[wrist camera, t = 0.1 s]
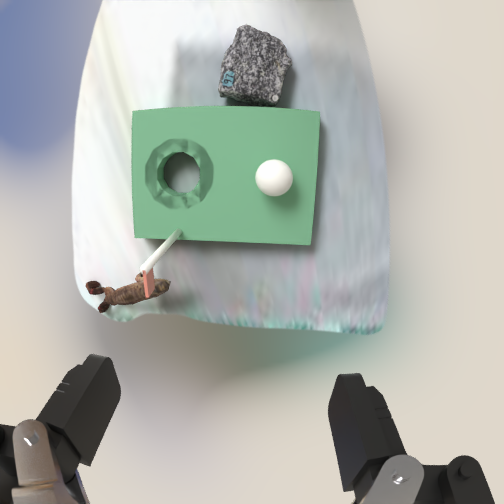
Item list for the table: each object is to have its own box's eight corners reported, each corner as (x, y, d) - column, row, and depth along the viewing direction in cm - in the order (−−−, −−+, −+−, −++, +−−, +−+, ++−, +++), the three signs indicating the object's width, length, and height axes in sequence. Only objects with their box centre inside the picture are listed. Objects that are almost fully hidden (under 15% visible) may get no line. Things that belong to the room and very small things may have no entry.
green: (140, 113, 32) (132, 111, 30) (315, 114, 32) (320, 111, 30) (141, 232, 38) (134, 238, 35) (307, 239, 37) (310, 245, 35)
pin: (175, 228, 35) (139, 265, 23) (181, 228, 35) (147, 266, 23) (176, 251, 36) (143, 297, 24) (182, 252, 36) (151, 297, 24)
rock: (298, 45, 29) (303, 33, 25) (274, 114, 33) (276, 109, 29) (240, 29, 29) (238, 16, 25) (214, 97, 32) (209, 90, 28)
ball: (256, 158, 32) (256, 158, 28) (291, 160, 32) (296, 161, 28) (254, 192, 33) (254, 198, 29) (289, 194, 33) (293, 200, 29)
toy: (139, 287, 47) (187, 297, 36) (98, 314, 41) (133, 336, 31) (125, 258, 45) (169, 258, 35) (82, 284, 39) (110, 296, 29)
